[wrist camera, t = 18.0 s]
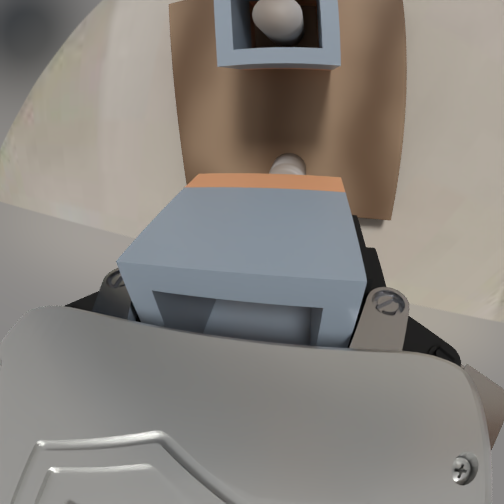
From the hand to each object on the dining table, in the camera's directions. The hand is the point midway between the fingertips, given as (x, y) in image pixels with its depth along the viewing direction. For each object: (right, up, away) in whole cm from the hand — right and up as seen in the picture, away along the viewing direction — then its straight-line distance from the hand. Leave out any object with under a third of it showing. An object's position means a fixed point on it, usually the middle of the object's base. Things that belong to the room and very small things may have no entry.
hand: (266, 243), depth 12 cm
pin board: (+2, +10, +6) cm, 12 cm away
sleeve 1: (+2, +14, +2) cm, 14 cm away
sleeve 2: (0, 0, +1) cm, 1 cm away
